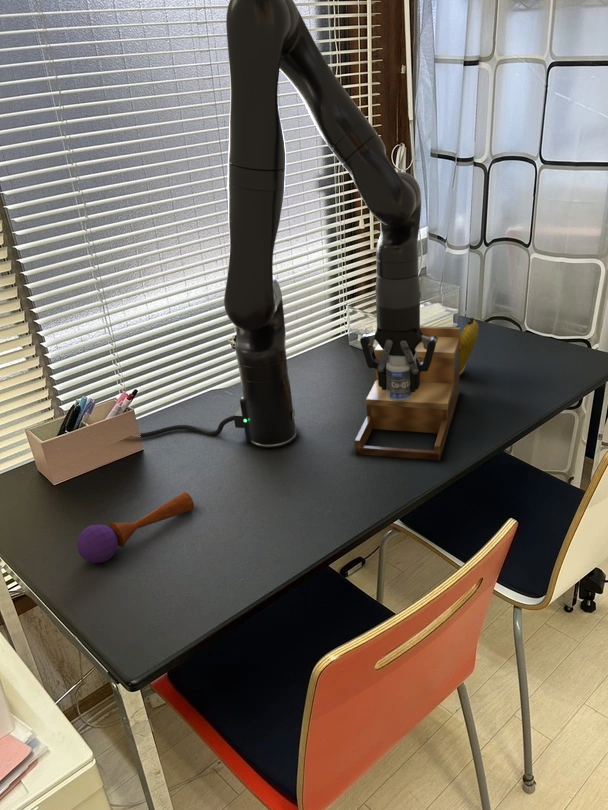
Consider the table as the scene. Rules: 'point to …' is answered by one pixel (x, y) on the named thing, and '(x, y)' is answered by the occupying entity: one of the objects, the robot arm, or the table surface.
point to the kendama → (125, 530)
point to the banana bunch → (467, 342)
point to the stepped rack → (418, 400)
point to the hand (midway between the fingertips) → (399, 389)
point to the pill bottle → (398, 378)
